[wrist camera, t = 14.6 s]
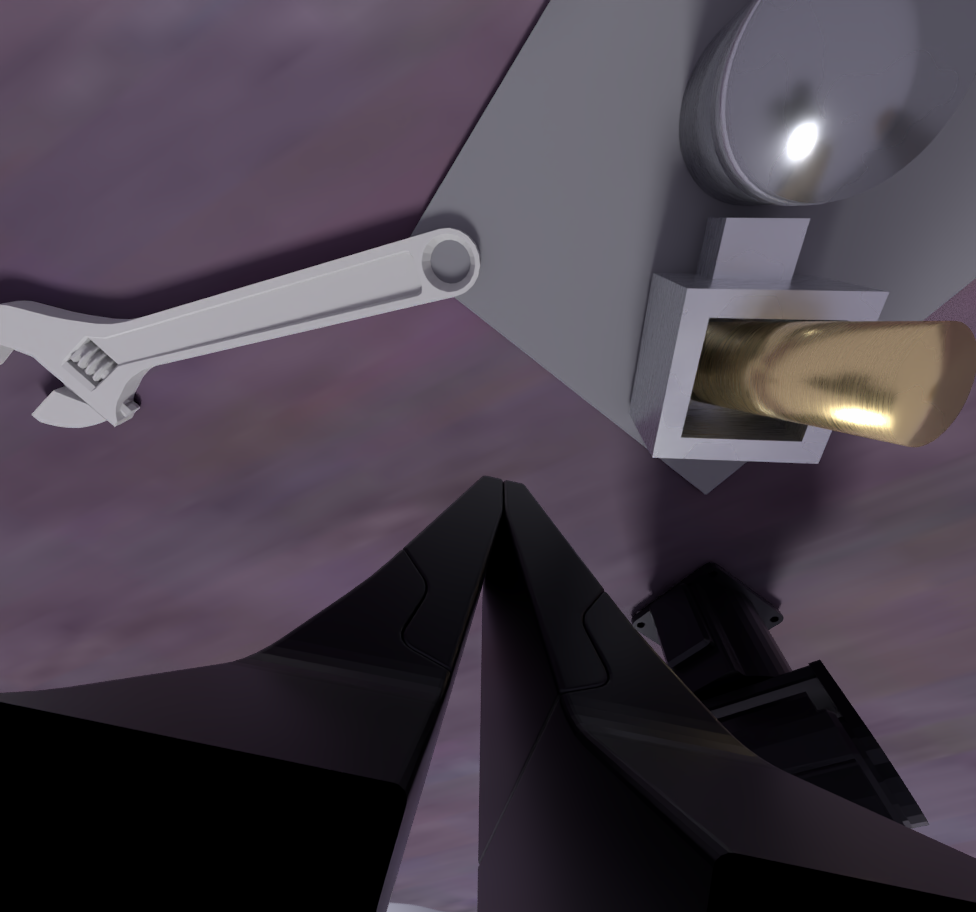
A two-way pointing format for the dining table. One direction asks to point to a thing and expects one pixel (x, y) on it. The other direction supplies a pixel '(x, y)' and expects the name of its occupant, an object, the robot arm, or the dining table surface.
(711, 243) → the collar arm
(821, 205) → the mat
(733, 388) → the brass rounded cylinder
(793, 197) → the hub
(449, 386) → the dining table surface
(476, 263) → the adjustable wrench
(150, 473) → the dining table surface
